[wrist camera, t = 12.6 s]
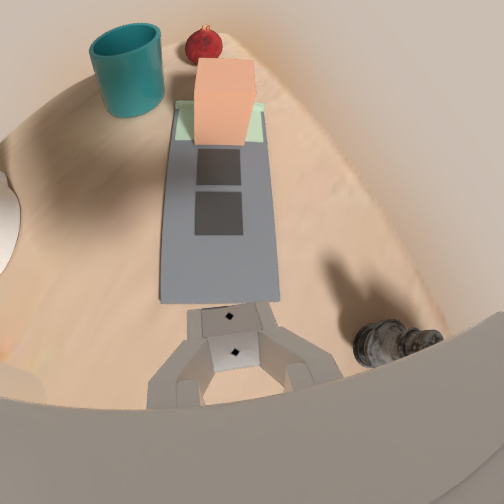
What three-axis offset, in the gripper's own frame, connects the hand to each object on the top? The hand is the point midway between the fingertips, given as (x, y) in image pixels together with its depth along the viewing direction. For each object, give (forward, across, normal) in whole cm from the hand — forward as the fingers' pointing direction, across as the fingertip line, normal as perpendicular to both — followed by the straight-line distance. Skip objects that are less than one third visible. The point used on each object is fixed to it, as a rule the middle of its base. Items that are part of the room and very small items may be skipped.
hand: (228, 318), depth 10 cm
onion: (+40, -1, -17) cm, 43 cm away
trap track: (+23, -1, +1) cm, 23 cm away
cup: (+36, +10, -13) cm, 39 cm away
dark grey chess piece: (+10, -16, +17) cm, 25 cm away
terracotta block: (+29, -2, -5) cm, 30 cm away
